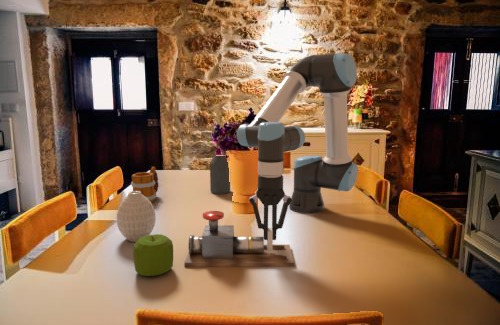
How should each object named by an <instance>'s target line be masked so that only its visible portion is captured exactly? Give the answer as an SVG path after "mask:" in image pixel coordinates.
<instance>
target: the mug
mask: <svg viewBox="0 0 500 325" xmlns="http://www.w3.org/2000/svg"><path fill="white" fill-rule="evenodd" d="M156 169H157V168H156V167H155V166H151V168H150V171H149V172H146V171H144V172H143V171H142V172H136V173H133V174H132V175H131V183H130V185H131V187H132V191H140V192H141V193H142V195H144V196H145V197H146V198H147V199H149V201H150V202H151V203H154V202H156V198H157V193H158V190H159V177H158V173H157V171H156Z"/></svg>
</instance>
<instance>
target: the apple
mask: <svg viewBox="0 0 500 325" xmlns="http://www.w3.org/2000/svg"><path fill="white" fill-rule="evenodd" d="M132 256H133V264H134V271H135V272H136V273H137V275H141V276H145V277H157V276H160V275H163V274H164V273H166V272H168V271H169V270H171V269H172V268H173V266H174V245H173V241H172V239H170V238H169V237H167V235H164V234H161V233H160V234H157V233H156V234H150V235H148V236H144V237H141V238H140V239H138V241H137V242H134V245H133V251H132Z"/></svg>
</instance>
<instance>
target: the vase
mask: <svg viewBox="0 0 500 325" xmlns="http://www.w3.org/2000/svg"><path fill="white" fill-rule="evenodd" d="M152 203H153V202H152ZM152 203H151V202H150V201H149V199H147V198H146V197H145V196H144V195H142V193H141V192H140V191H133V190H132V191H130V192H128V194H127V195H126V196H125V197H124V199H123V200H122V202H121V203H120V204H119V206H118V209H117V211H116V212H117V213H116V226H117V228H118V231H119V232H120V233H121V235H122V236H123V238H125V239H126V240H127V241H129V242H132V243H136V242H137V241H138V239H140V238H141V237H144V236H148V235H152V232H153V230H154V227H155V226H156V220H157V218H156V211H155V207H154V206H153V204H152Z"/></svg>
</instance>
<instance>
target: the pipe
mask: <svg viewBox="0 0 500 325" xmlns="http://www.w3.org/2000/svg"><path fill="white" fill-rule="evenodd" d="M264 245H265V240H264V236H252V235H251V236H234V237H233V253H264Z"/></svg>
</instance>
